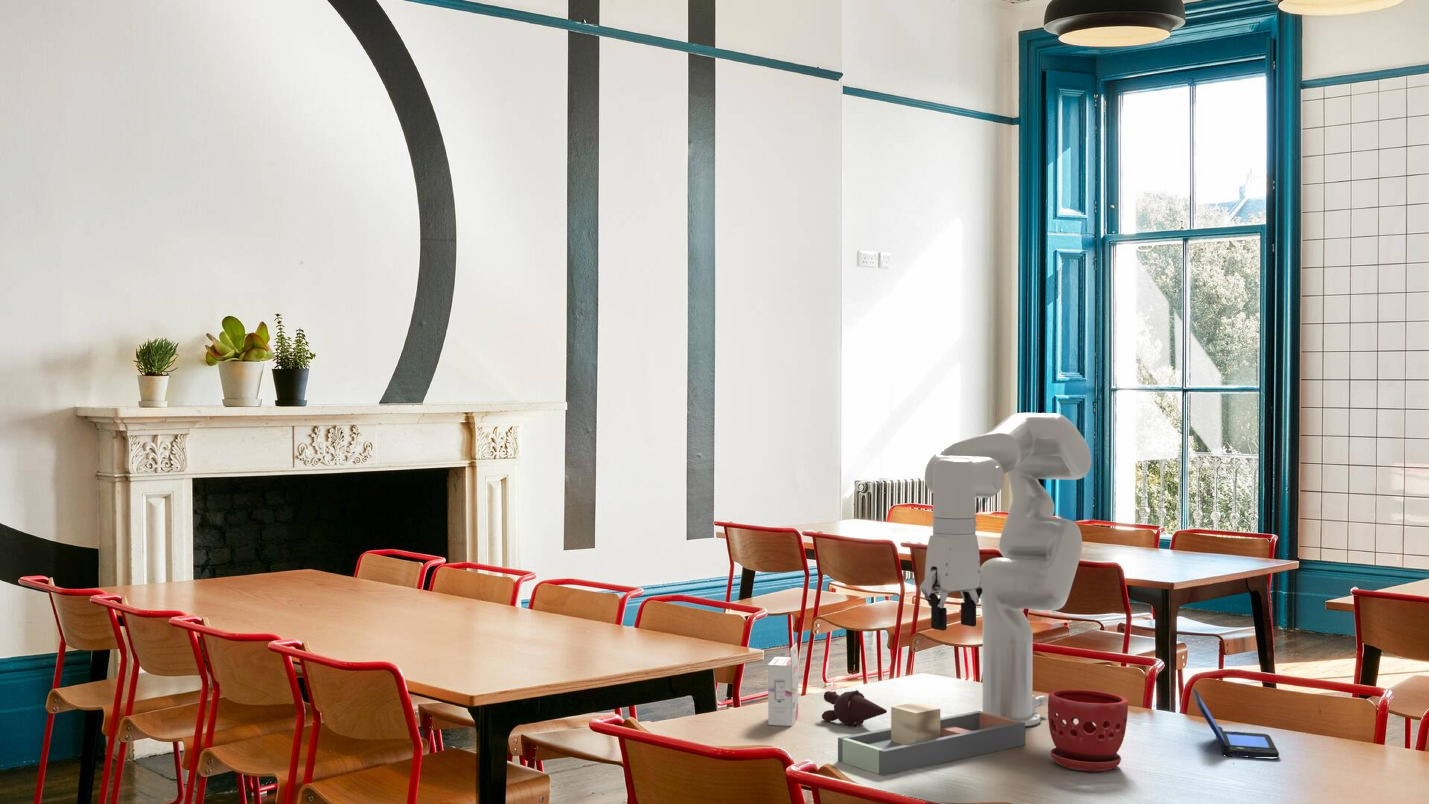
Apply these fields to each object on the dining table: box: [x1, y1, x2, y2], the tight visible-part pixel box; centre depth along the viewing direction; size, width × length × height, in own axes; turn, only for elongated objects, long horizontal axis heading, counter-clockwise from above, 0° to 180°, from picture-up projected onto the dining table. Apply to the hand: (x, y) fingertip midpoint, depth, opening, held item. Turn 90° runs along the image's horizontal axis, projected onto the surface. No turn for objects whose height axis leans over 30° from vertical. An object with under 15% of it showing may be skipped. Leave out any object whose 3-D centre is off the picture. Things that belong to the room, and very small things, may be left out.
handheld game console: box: [1192, 688, 1280, 758], centre depth 240 cm, size 16×13×9 cm
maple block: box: [890, 702, 941, 745], centre depth 232 cm, size 6×6×6 cm
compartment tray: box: [837, 710, 1026, 777], centre depth 235 cm, size 35×11×4 cm, turn 126°
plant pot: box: [1047, 688, 1129, 772], centre depth 227 cm, size 13×13×12 cm
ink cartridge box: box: [767, 642, 799, 727], centre depth 258 cm, size 9×5×15 cm, turn 168°
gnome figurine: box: [821, 689, 888, 728], centre depth 255 cm, size 7×7×15 cm
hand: (953, 626), depth 238 cm, fingers open, 6 cm apart
